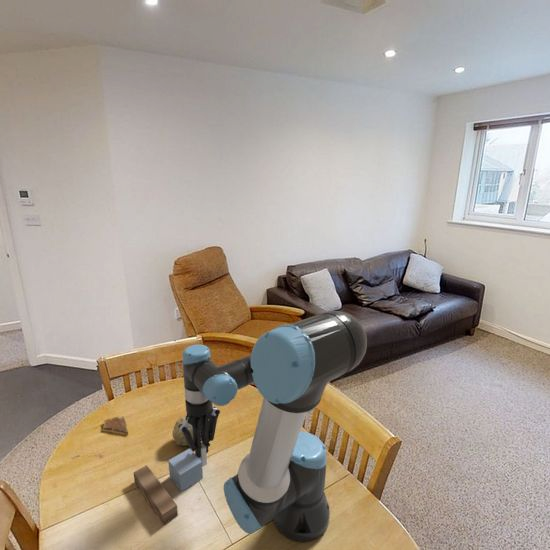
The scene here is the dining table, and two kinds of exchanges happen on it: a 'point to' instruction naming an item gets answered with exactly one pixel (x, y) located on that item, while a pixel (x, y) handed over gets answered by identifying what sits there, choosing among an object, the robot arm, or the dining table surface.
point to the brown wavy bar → (155, 494)
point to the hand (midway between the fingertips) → (202, 462)
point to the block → (185, 469)
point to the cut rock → (179, 434)
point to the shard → (116, 425)
